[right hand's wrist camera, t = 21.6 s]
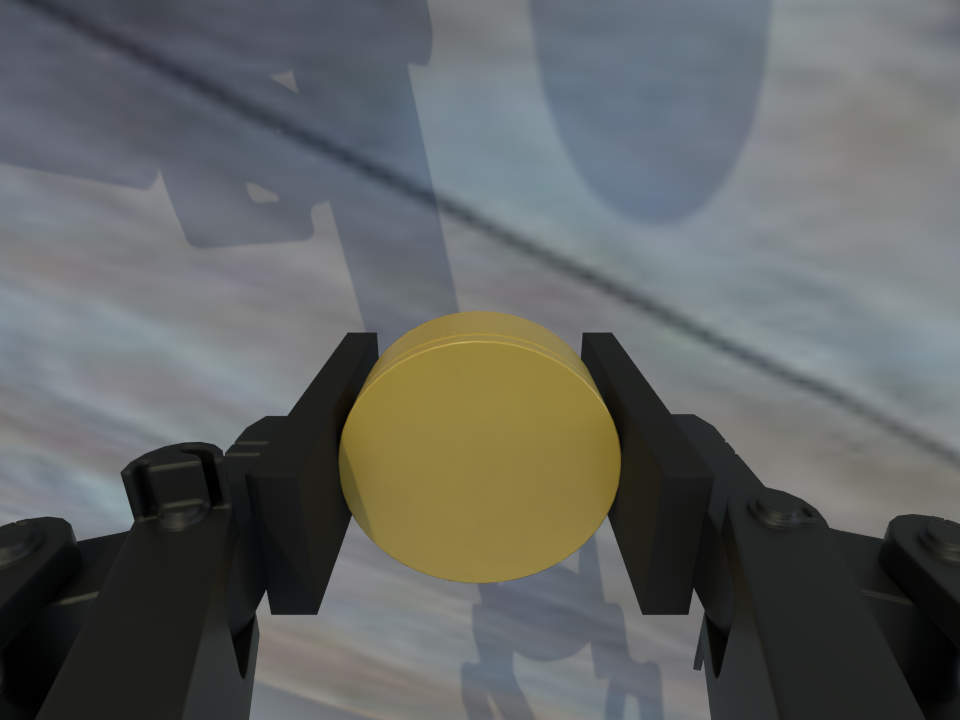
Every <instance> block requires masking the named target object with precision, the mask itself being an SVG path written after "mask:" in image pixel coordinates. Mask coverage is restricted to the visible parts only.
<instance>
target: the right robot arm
mask: <svg viewBox="0 0 960 720" xmlns="http://www.w3.org/2000/svg"><path fill="white" fill-rule="evenodd" d="M378 359H379V355H378V342H377V333H347V335H346V336H345V337H344V339H343V340H342V341H341V343H340V344H339V346H338V347H337V348H336V350H335V351H334V353H333V354H332V355H331V357H330V358H329V359H328V361H327V362H326V364H325V365H324V366H323V368H322V369H321V370H320V372H319V373H318V375H317V376H316V377H315V379H314V380H313V381H312V383H311V384H310V386H309V387H308V388H307V390H306V391H305V392H304V394H303V395H302V397H301V398H300V399H299V401H298V402H297V403H296V405H295V406H294V408H293V409H292V410H291V412H290V413H289V414H288V416H265V417H264V418H262V419H260V420H259V421H257V422H255V423H254V424H252V425H250V426H249V427H247V428H246V429H245V430H244V431H243V433H242V434H241V435H240V436H239V437H238V439H237V440H236V441H235V444H232V446H231V447H230V448H229V449H228V450H227V452H226V453H225V456H223V451H222V450H221V449H220V448H218V447H217V446H216V445H214V444H209V443H204V442H187V443H179V444H175V445H170V446H165V447H162V448H159V449H157V450H154V451H151V452H148V453H146V454H144V455H142V456H141V457H139V458H137V459H135V460H134V461H132V462H130V463H129V464H128V465H127V466H126V467H125V468H124V469H123V470H122V471H121V476H122V479H123V483H124V486H125V490H126V493H127V496H128V500H129V503H130V507H131V510H132V514H133V517H134V520H135V521H134V523H133V525H132V527H131V529H130V531H126V532H122V533H117V534H112V535H107V536H102V537H97V538H92V539H87V540H82V541H76V538H75V535H74V532H73V529H72V526H71V524H70V523H68V522H67V521H65V520H64V519H63V518H55V517H40V518H33V519H24V520H20V521H17V522H16V523H14V522H13V523H10V524H7V525H4V526H1V527H0V720H249V715H250V707H251V699H252V691H253V683H254V675H255V667H256V659H257V651H258V643H259V635H260V634H259V627H258V621H257V616H256V609H257V607H258V605H259V603H260V601H261V599H262V597H263V595H264V593H265V591H266V589H267V595H268V600H269V605H270V610H271V615H317V613H318V611H319V608H320V605H321V602H322V599H323V596H324V593H325V591H326V588H327V585H328V582H329V579H330V576H331V574H332V571H333V568H334V565H335V562H336V559H337V556H338V554H339V551H340V548H341V545H342V542H343V539H344V536H345V534H346V531H347V528H348V525H349V522H350V519H351V517H352V513H351V511H350V510H349V508H348V505H347V502H346V500H345V497H344V495H343V492H342V487H341V482H340V473H339V464H338V453H339V444H340V439H341V435H342V431H343V428H344V425H345V423H346V420H347V418H348V415H349V413H350V411H351V409H352V407H353V405H354V403H355V401H356V399H357V397H358V395H359V393H360V391H361V389H362V387H363V385H364V383H365V381H366V379H367V377H368V375H369V373H370V372H371V370H372V368H373V367H374V365H375V363H376V362H377V361H378ZM581 360H582V362H583V363H584V364H585V366H586V367H587V369H588V371H589V373H590V375H591V377H592V379H593V381H594V383H595V385H596V387H597V389H598V391H599V393H600V395H601V397H602V399H603V401H604V403H605V405H606V407H607V409H608V411H609V413H610V415H611V417H612V419H613V421H614V424H615V427H616V430H617V433H618V437H619V443H620V449H621V469H620V478H619V486H618V489H617V492H616V496H615V499H614V501H613V504H612V506H611V508H610V510H609V512H608V514H607V515H608V517H609V520H610V523H611V526H612V529H613V532H614V535H615V537H616V540H617V543H618V546H619V549H620V552H621V555H622V557H623V560H624V563H625V566H626V569H627V572H628V574H629V577H630V580H631V583H632V586H633V589H634V592H635V594H636V597H637V600H638V603H639V606H640V609H641V612H642V614H643V615H688V614H689V608H690V603H691V598H692V593H693V587H694V589H695V591H696V593H697V595H698V597H699V599H700V601H701V603H702V605H703V607H704V609H705V611H704V616H703V621H702V626H701V631H700V636H699V641H698V646H697V650H696V655H695V661H694V668H693V669H695V670H700V671H701V667H702V662H703V659H704V666H705V674H706V682H707V690H708V698H709V706H710V714H711V720H960V524H958V523H956V522H953V521H950V520H944V519H943V518H939V517H934V516H924V515H916V514H909V515H901V516H897V517H896V518H894V519H893V520H891V521H890V522H889V525H888V528H887V531H886V533H885V536H884V539H880V538H875V537H870V536H865V535H860V534H855V533H850V532H845V531H839V530H836V529H832V528H829V526H828V524H827V522H826V520H825V519H824V518H823V517H822V515H821V514H820V513H819V512H818V511H817V509H815V508H814V507H812V506H811V505H810V504H808V503H807V502H805V501H804V500H802V499H800V498H798V497H796V496H793V495H791V494H789V493H786V492H784V491H780V490H775V489H771V488H767V487H765V486H764V485H763V484H762V483H761V481H760V480H759V479H758V478H757V477H756V476H755V474H754V473H753V472H752V471H751V470H750V468H749V467H748V466H747V465H746V464H745V463H744V461H743V460H742V459H741V458H740V457H739V455H738V454H735V451H734V450H733V448H732V447H731V446H730V445H729V444H728V443H725V439H724V438H723V437H722V435H721V434H720V433H719V432H718V431H717V430H716V428H715V427H714V426H713V425H711V424H709V423H707V422H706V421H704V420H702V419H701V418H699V417H697V416H696V415H694V414H670V412H669V411H668V409H667V408H666V407H665V405H664V404H663V403H662V401H661V400H660V398H659V397H658V396H657V394H656V393H655V392H654V390H653V389H652V387H651V386H650V385H649V383H648V382H647V381H646V379H645V378H644V376H643V375H642V374H641V372H640V371H639V370H638V368H637V367H636V365H635V364H634V363H633V361H632V360H631V359H630V357H629V356H628V354H627V353H626V352H625V350H624V349H623V347H622V346H621V345H620V343H619V342H618V341H617V339H616V338H615V336H614V335H613V334H612V333H583V337H582V351H581Z"/></svg>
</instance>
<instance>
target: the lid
mask: <svg viewBox="0 0 960 720" xmlns="http://www.w3.org/2000/svg"><path fill="white" fill-rule="evenodd" d="M338 464H339V473H340V482H341V487H342V492H343V495H344V497H345V500H346V502H347V505H348V508H349V510H350V511H351V513H352V515H353V517H354V518H355V520H356V522H357V523H358V524H359V526H360V527H361V528H362V530H363V531H364V532H365V534H366V535H367V536H368V537H369V538H370V539H371V540H372V541H373V542H374V543H375V544H376V545H377V546H378V547H379V548H381V549H382V550H383V551H384V552H386V553H387V554H388V555H389V556H391V557H393V558H394V559H396V560H397V561H399V562H401V563H402V564H404V565H406V566H408V567H410V568H412V569H414V570H417V571H419V572H422V573H424V574H427V575H430V576H433V577H437V578H441V579H445V580H450V581H456V582H464V583H494V582H503V581H509V580H514V579H519V578H522V577H526V576H529V575H533V574H535V573H538V572H540V571H543V570H545V569H547V568H550V567H551V566H553V565H555V564H557V563H559V562H560V561H562V560H564V559H565V558H567V557H568V556H570V555H571V554H572V553H574V552H575V551H577V550H578V549H579V548H580V547H581V546H582V545H583V544H584V543H585V542H587V541H588V540H589V538H590V537H591V536H592V535H593V534H594V533H595V532H596V530H597V529H598V528H599V527H600V525H601V523H602V522H603V520H604V519H605V517H606V516H607V514H608V512H609V510H610V508H611V506H612V504H613V501H614V499H615V496H616V492H617V489H618V486H619V478H620V469H621V449H620V443H619V437H618V433H617V430H616V427H615V424H614V421H613V419H612V417H611V415H610V413H609V411H608V409H607V407H606V405H605V403H604V401H603V399H602V397H601V395H600V393H599V391H598V389H597V387H596V385H595V383H594V381H593V379H592V377H591V375H590V373H589V371H588V369H587V367H586V366H585V364H584V363H583V362H582V360H581V359H580V357H579V356H578V355H577V354H576V353H575V352H574V351H573V350H572V348H571V347H570V346H569V345H568V344H567V343H565V342H564V341H563V340H562V339H560V338H559V337H558V336H557V335H555V334H554V333H552V332H550V331H549V330H547V329H545V328H544V327H542V326H540V325H538V324H536V323H533V322H531V321H529V320H527V319H523V318H520V317H517V316H513V315H510V314H504V313H497V312H485V311H472V312H462V313H455V314H451V315H446V316H442V317H439V318H436V319H434V320H431V321H428V322H425V323H423V324H421V325H420V326H418V327H416V328H414V329H412V330H410V331H409V332H407V333H406V334H405V335H403V336H402V337H400V338H399V339H397V340H396V341H395V342H394V343H393V344H392V345H391V346H390V347H389V348H388V349H387V350H386V351H385V352H384V353H383V354H382V356H381V357H380V358H379V359H378V361H377V362H376V363H375V365H374V367H373V368H372V370H371V372H370V373H369V375H368V377H367V379H366V381H365V383H364V385H363V387H362V389H361V391H360V393H359V395H358V397H357V399H356V401H355V403H354V405H353V407H352V409H351V411H350V413H349V415H348V418H347V420H346V423H345V425H344V428H343V431H342V435H341V439H340V444H339V453H338Z"/></svg>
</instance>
